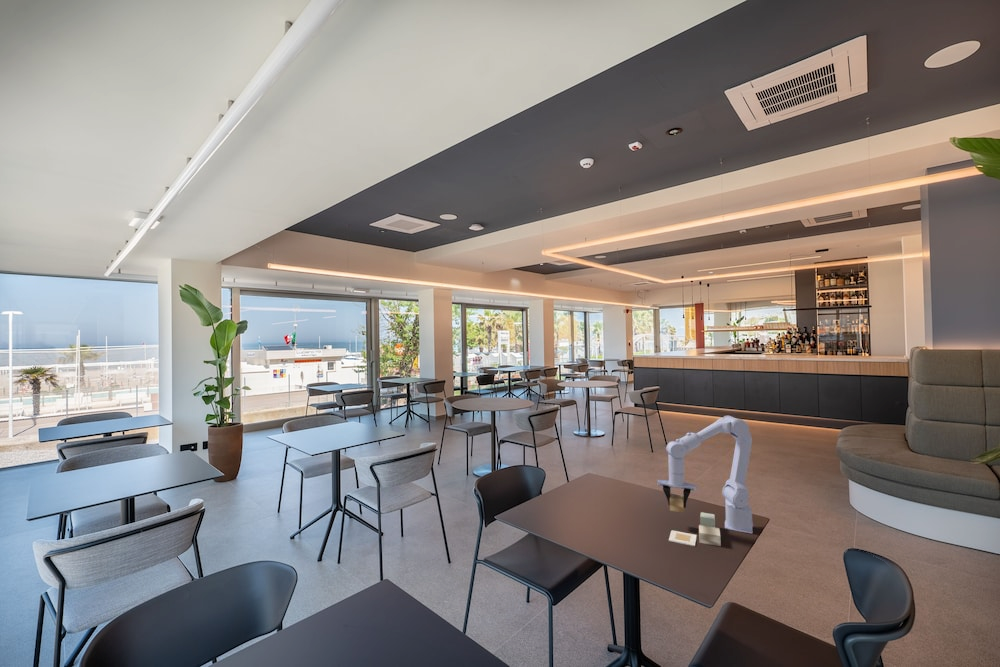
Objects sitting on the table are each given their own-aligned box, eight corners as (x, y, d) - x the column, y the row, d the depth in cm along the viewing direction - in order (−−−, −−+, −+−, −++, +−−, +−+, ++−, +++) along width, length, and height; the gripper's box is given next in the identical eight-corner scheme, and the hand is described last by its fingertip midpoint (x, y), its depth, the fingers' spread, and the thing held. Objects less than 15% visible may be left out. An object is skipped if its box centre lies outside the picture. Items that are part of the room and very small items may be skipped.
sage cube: (714, 526, 166) (714, 514, 166) (714, 532, 161) (714, 519, 161) (701, 524, 168) (700, 512, 168) (700, 529, 164) (700, 516, 164)
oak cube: (684, 508, 167) (684, 495, 167) (683, 512, 163) (683, 500, 163) (671, 506, 170) (671, 493, 170) (669, 510, 165) (669, 498, 165)
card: (696, 536, 158) (696, 534, 158) (695, 546, 150) (695, 545, 150) (671, 531, 162) (671, 529, 162) (668, 541, 154) (668, 539, 154)
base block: (719, 538, 156) (719, 528, 156) (720, 547, 150) (720, 536, 150) (699, 535, 159) (698, 524, 159) (699, 543, 153) (699, 532, 153)
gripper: (696, 471, 167) (697, 505, 166) (658, 467, 174) (659, 499, 173) (695, 476, 160) (696, 511, 160) (656, 471, 167) (657, 505, 167)
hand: (677, 505), depth 166 cm, fingers closed on oak cube, 5 cm apart
